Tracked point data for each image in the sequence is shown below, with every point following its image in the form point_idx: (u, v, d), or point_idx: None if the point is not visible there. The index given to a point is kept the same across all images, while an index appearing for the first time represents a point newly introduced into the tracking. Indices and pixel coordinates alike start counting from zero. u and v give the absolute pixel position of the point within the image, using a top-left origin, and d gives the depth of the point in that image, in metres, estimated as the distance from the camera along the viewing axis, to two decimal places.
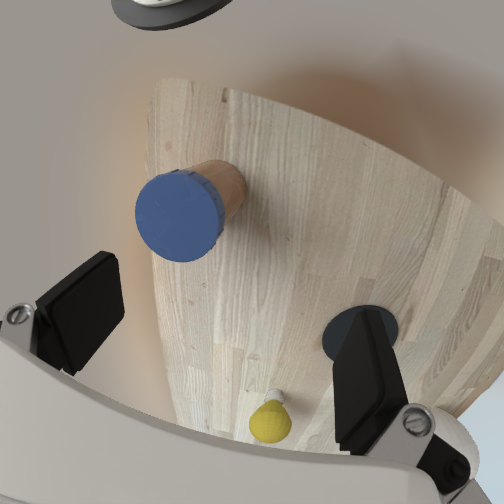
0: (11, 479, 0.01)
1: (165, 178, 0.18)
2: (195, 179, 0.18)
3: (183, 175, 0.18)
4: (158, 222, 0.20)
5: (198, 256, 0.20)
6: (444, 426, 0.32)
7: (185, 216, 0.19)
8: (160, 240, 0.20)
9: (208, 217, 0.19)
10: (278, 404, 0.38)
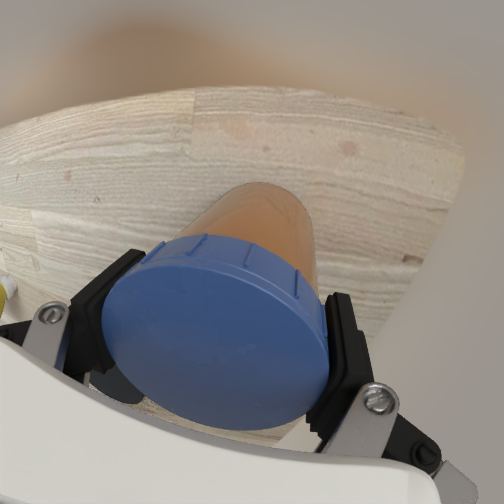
0: (11, 479, 0.01)
1: (317, 376, 0.06)
2: None
3: (315, 403, 0.07)
4: (188, 339, 0.07)
5: (137, 386, 0.08)
6: None
7: (217, 394, 0.07)
8: (140, 328, 0.07)
9: (221, 420, 0.08)
10: (3, 303, 0.22)
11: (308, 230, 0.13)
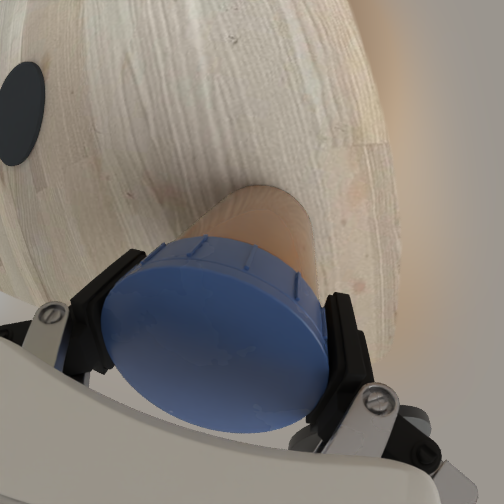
0: (11, 479, 0.01)
1: (316, 379, 0.06)
2: None
3: (314, 406, 0.07)
4: (188, 341, 0.07)
5: (135, 388, 0.08)
6: None
7: (216, 396, 0.07)
8: (139, 330, 0.07)
9: (220, 423, 0.08)
10: None
11: None
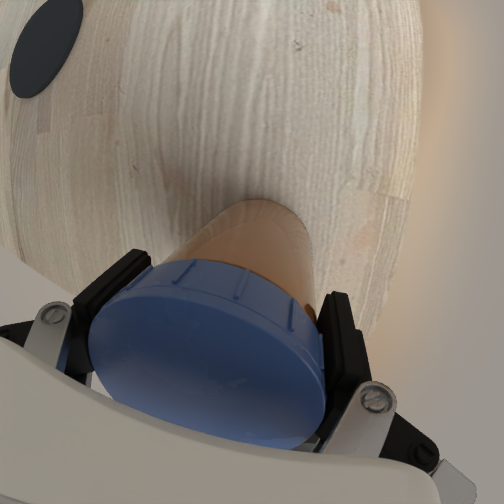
0: (11, 479, 0.01)
1: (312, 410, 0.06)
2: None
3: (310, 434, 0.06)
4: (176, 370, 0.06)
5: None
6: None
7: (208, 423, 0.07)
8: (127, 356, 0.06)
9: None
10: None
11: None
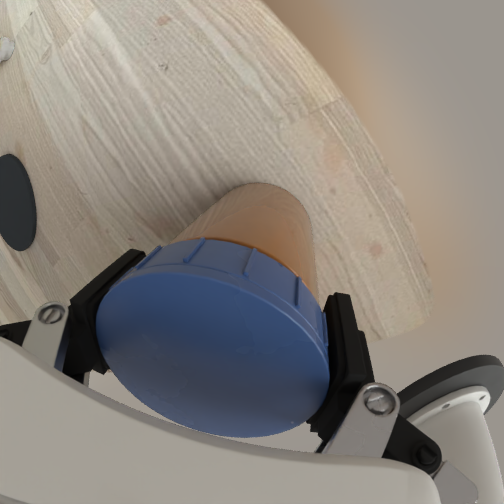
0: (11, 479, 0.01)
1: (167, 285, 0.06)
2: (273, 297, 0.06)
3: (231, 285, 0.05)
4: (160, 377, 0.07)
5: (260, 435, 0.08)
6: None
7: (234, 381, 0.07)
8: (168, 402, 0.08)
9: (301, 388, 0.06)
10: None
11: None
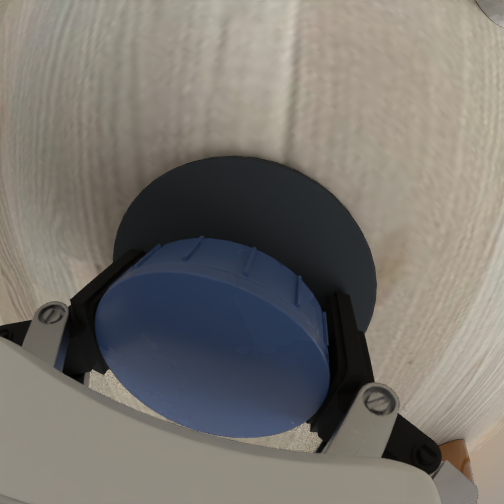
0: (11, 479, 0.01)
1: (166, 284, 0.06)
2: (272, 296, 0.06)
3: (231, 283, 0.05)
4: (159, 377, 0.07)
5: (260, 435, 0.08)
6: None
7: (234, 381, 0.07)
8: (168, 402, 0.08)
9: (301, 388, 0.06)
10: None
11: None
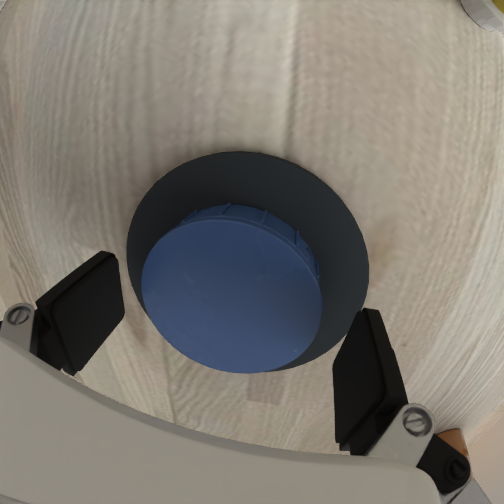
0: (11, 479, 0.01)
1: (208, 229, 0.09)
2: (280, 236, 0.08)
3: (253, 226, 0.08)
4: (192, 313, 0.10)
5: (269, 368, 0.11)
6: None
7: (251, 308, 0.09)
8: (195, 340, 0.11)
9: (301, 313, 0.09)
10: None
11: None
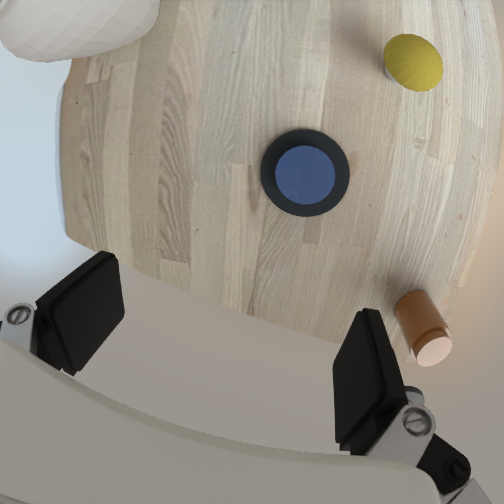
0: (11, 479, 0.01)
1: (302, 148, 0.29)
2: None
3: (315, 148, 0.28)
4: (293, 176, 0.30)
5: (318, 200, 0.31)
6: (111, 48, 0.22)
7: (313, 173, 0.30)
8: (292, 189, 0.31)
9: (329, 174, 0.29)
10: None
11: None
